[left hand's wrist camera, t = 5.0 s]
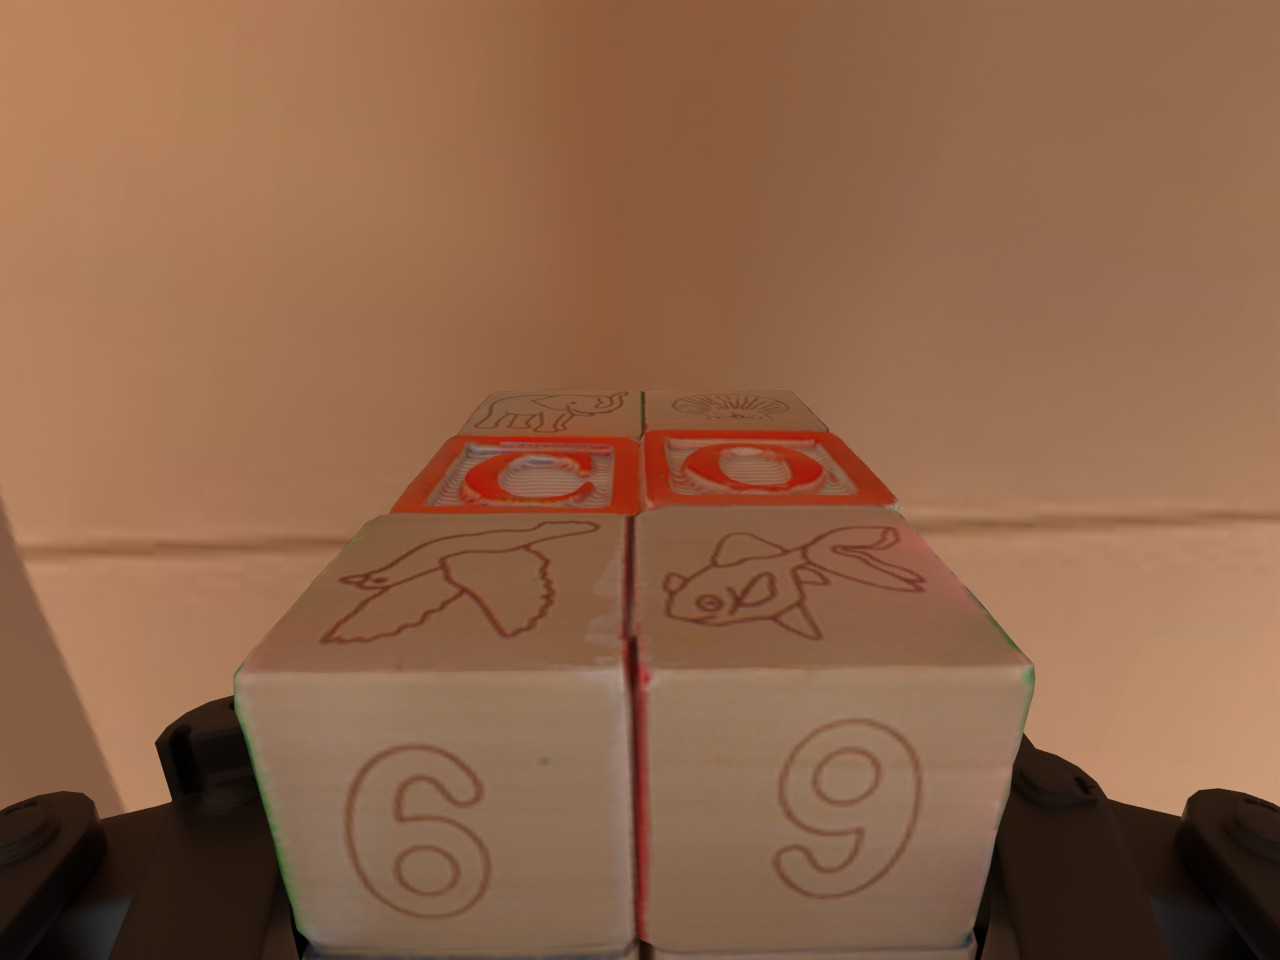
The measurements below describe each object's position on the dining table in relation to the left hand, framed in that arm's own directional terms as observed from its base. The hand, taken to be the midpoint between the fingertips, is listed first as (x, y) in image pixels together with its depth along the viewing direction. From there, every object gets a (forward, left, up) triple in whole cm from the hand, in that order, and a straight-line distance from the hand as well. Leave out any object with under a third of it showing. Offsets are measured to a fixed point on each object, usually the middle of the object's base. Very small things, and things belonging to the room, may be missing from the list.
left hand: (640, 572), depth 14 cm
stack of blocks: (+6, +2, -1) cm, 7 cm away
